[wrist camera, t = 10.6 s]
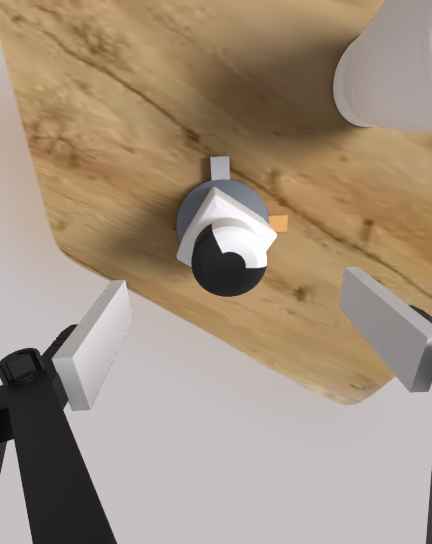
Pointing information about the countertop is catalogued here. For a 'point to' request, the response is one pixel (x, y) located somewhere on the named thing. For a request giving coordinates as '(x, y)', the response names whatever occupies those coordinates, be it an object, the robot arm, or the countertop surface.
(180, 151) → the countertop surface
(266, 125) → the countertop surface
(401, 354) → the robot arm
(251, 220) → the medicine bottle
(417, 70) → the jar
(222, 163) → the pad
